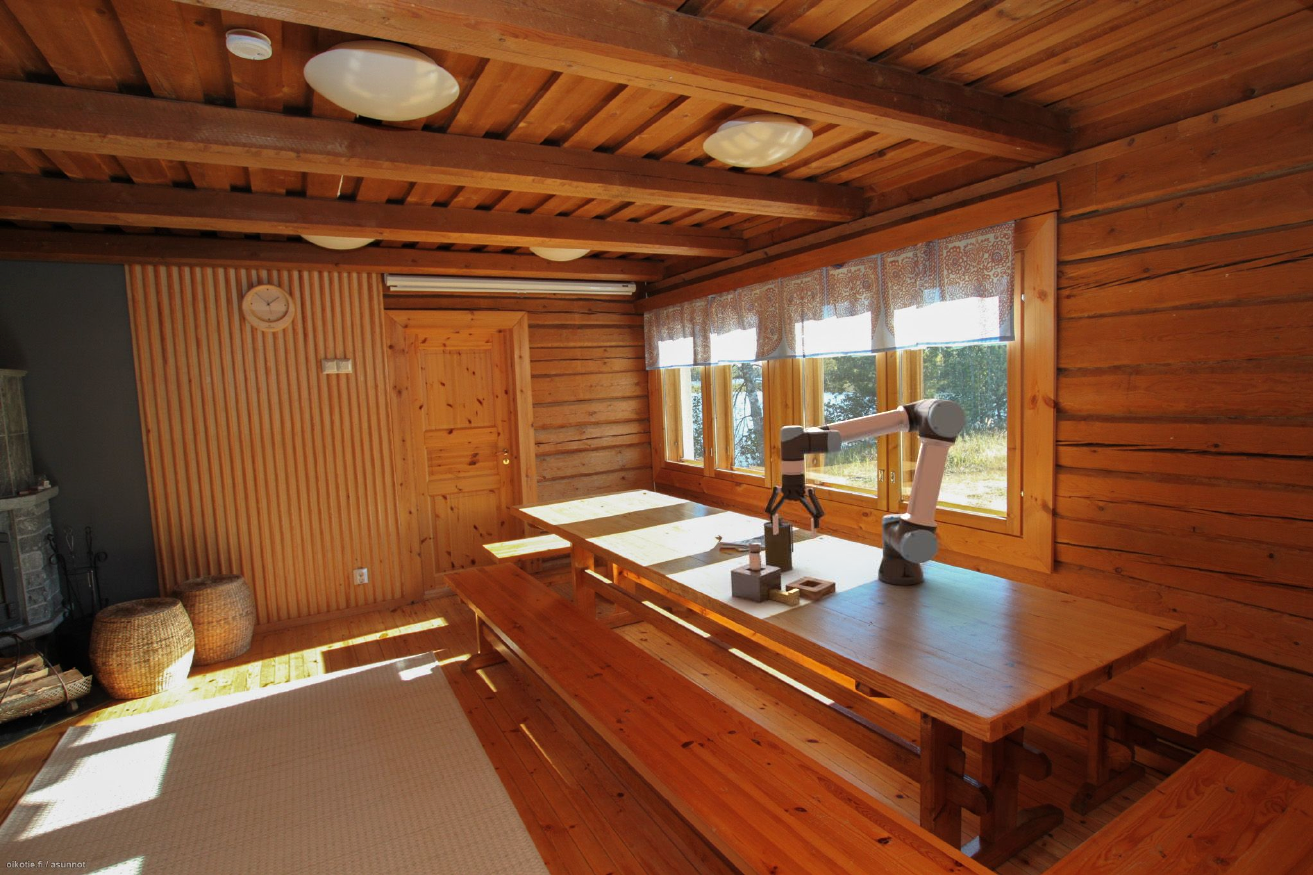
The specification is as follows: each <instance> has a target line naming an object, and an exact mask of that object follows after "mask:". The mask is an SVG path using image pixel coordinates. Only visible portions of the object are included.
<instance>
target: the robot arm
mask: <svg viewBox="0 0 1313 875" xmlns="http://www.w3.org/2000/svg"><path fill="white" fill-rule="evenodd" d="M966 416H967V415H966V413H965V410H964V409H963V407H962V406H961V405H960V404H958V403H957V402H955V401H953V400H950V399H944V398H933V397H932V398H925V399H921V400H917V401H913V402H911V403H908V404H903V405H899V406H898V407H897V409H893V410H890V411H885V412H880V413H874V414H871V415H866V416H861V417H856V418H852V419H848V420H843V421H837V422H833V423H828V424H825V425H824V424H823V425H819V426H808V427H806V428H804V426H802V425H786V426H783V427H781V429H780V439H779V442H780V461H781V462H780V464H781V465H780V466H781V468H780V472H781V486H779V485H775V486H773V487H772V493H771V496H770V498H769V500H768V502H767V505H766V507H765V509H764V513H765V514H768V515H769V518H770V521H771V524H773V535H776V534H778V533H779V526H778V516H779V514H778V513H777V512H778V511H779V510H780V509H781V507H782V506H783V505H784V504H785V502H786V501H789V502H790V501H794V502H799V503H801V504H802V505H803V507H804V509H806V511H807V512H808V513H809V515H810V516H811V517H812V518H811V519H810V533H811V539H813V540H814V539H816V538H818V534H817V533H818V532H817V530H818V529H819V527H820V518H823V517H825V512H824V510H823V507H822V506H821V503H820V502H819V499H818V497H817V496H816V492H815V491H816V490H815V488H814V487H810V488H806V477H805V476H806V475H805V473H804V472H805V455H817V454H819V455H820V454H824V455H826V454H829V455H831V454H836V453H840V452H841V449H842V444H845V443H849V442H855V441H860V440H866V439H871V438H875V437H880V436H884V435H889V434H893V433H894V434H895V433H898V432H902V433H904V434H907V433H908V434H909V433H914V432H916V433H917V432H918V433H917V438H918V440H919V441H920V448H919V453H918V457H917V461H916V465H915V472H914V476H913V480H912V486H911V489H910V495H909V500H908V503H907V504H908V505H907V509H906V512H905V513H896V514H895V513H894V514H885V515H884V516H883V517H882V519H881V529H882V531H881V535H882V537H881V540H882V559H881V560H880V564H879V568H878V569H877V570H878V571H877V573H878V574H877V576H878V577H877V578H878V579H879V580H880V581H881V582H883V583H887V584H891V585H899V586H900V585H901V586H903V585H904V586H905V585H906V586H907V585H908V586H909V585H910V586H911V585H917V584H920V583H922V582H923V581H924V571H923V569H922V565H921V564H925V563H928V562H929V561H931V560H932V559H934V557H936V555H937V553H938V551H939V544H940V543H939V540H938V538H937V537H936V534H937V528H938V524H937V521H935V514H936V509H937V505H938V501H939V496H940V490H941V486H942V482H943V476H944V472H945V468H946V463H947V458H948V454H949V449H950V448H951V447H953V446H955V445H956V442H957V437H958V435H959V434H960V433H961V432H963V430H964V428H965V426H966V422H967V417H966ZM780 493H782V496H781V497H780V499H779V500H778V502H777V503H776V500H777V498H778V496H779V494H780ZM805 494H807V495H808V497H809V500H810V502H809V500H808V498H807V496H805ZM770 521H769V522H770Z"/></svg>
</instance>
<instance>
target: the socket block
mask: <svg viewBox="0 0 1313 875" xmlns="http://www.w3.org/2000/svg"><path fill="white" fill-rule="evenodd" d="M761 566H762V571H760V572H753V571H750V563H748V564H744V565H742V566H739V567H737V568H734V569H732V570H730V581H731V582H730V584H731V586H730V587H731V597H733V598H738V599H742V600H744V601H745V600H746V601H749V602H753V603H758V604H761V603H762V604H763V603H764V602H767V601H768V600H769V599H768V589H770V588H773V589H777V590H782V572H781V568H778V567H773V566H768V565H766V564H762V563H761Z"/></svg>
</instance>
